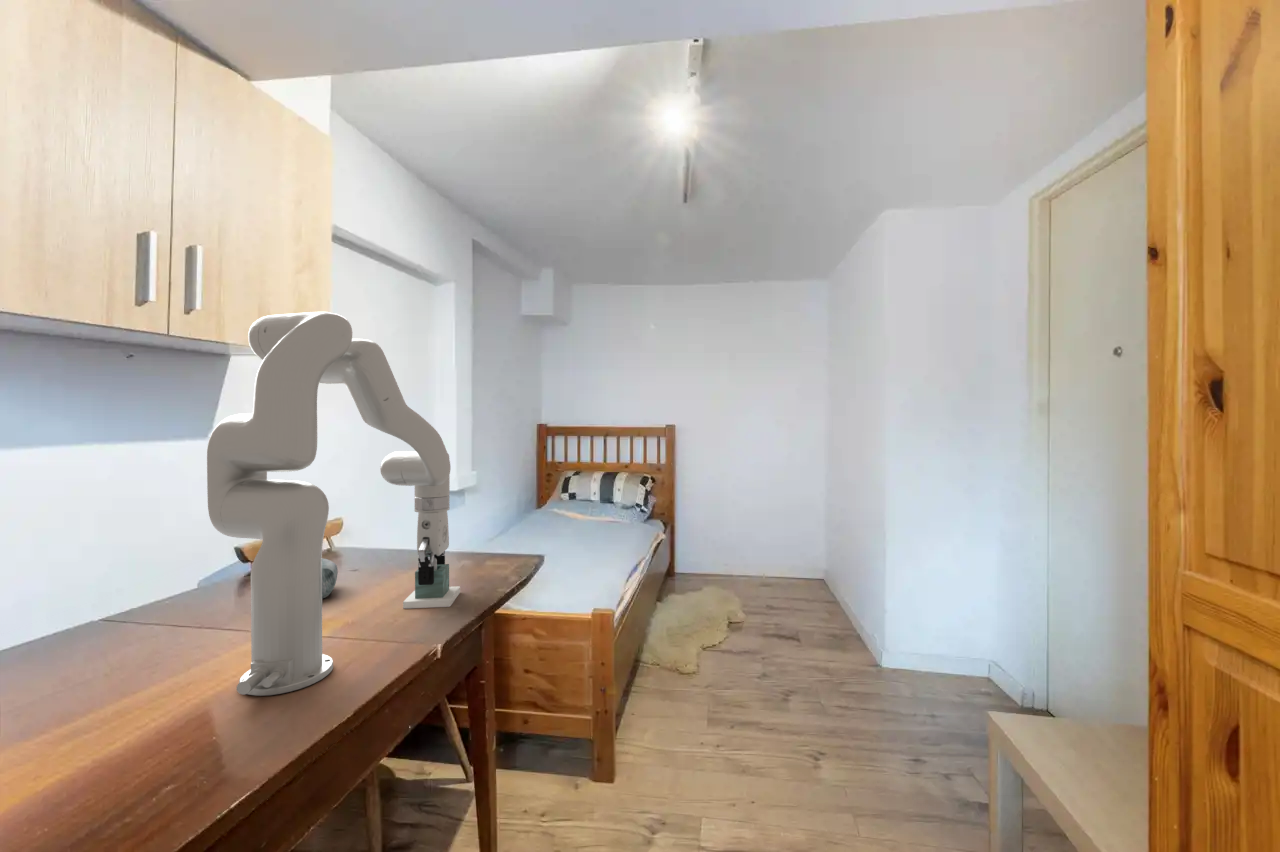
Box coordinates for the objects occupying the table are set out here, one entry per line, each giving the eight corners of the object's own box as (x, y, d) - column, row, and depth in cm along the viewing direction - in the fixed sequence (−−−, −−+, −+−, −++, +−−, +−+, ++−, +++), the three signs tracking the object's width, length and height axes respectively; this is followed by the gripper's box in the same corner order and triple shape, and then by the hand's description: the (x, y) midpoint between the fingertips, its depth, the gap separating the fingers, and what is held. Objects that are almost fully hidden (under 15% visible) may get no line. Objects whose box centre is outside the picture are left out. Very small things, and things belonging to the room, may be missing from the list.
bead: (442, 597, 120) (442, 571, 120) (415, 598, 119) (414, 571, 119) (449, 589, 126) (449, 564, 126) (422, 590, 125) (422, 564, 125)
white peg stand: (450, 606, 118) (449, 562, 118) (403, 608, 117) (402, 563, 117) (460, 592, 128) (459, 551, 128) (416, 594, 127) (416, 552, 127)
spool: (345, 585, 124) (323, 548, 124) (302, 610, 119) (279, 572, 119) (349, 583, 136) (329, 550, 136) (310, 606, 131) (289, 572, 131)
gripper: (439, 509, 114) (439, 589, 114) (457, 498, 132) (457, 567, 132) (402, 510, 114) (402, 590, 114) (426, 499, 131) (426, 568, 131)
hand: (432, 578), depth 123 cm, fingers open, 9 cm apart
